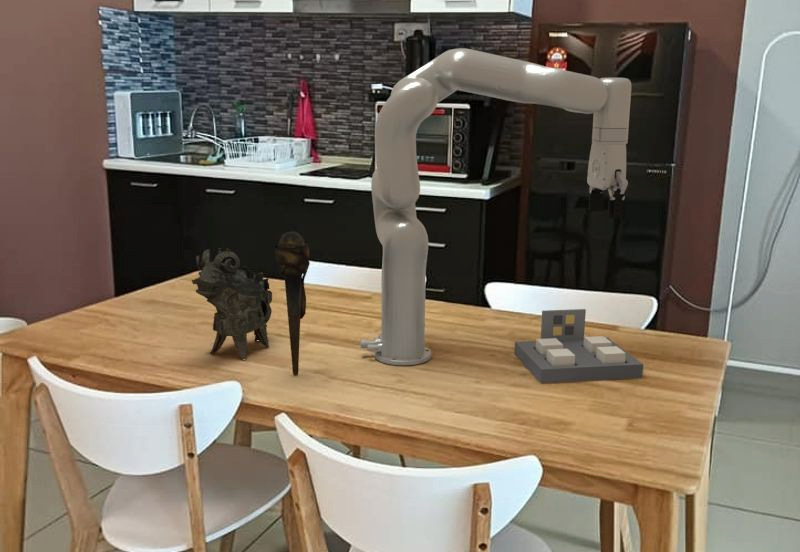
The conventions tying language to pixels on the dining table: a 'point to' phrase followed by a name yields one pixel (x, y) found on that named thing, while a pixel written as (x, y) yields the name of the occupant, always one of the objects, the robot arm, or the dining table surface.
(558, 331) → the card
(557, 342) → the button
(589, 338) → the button
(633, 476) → the dining table surface
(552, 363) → the button
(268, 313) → the vessel
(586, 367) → the board
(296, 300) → the decorative torch
